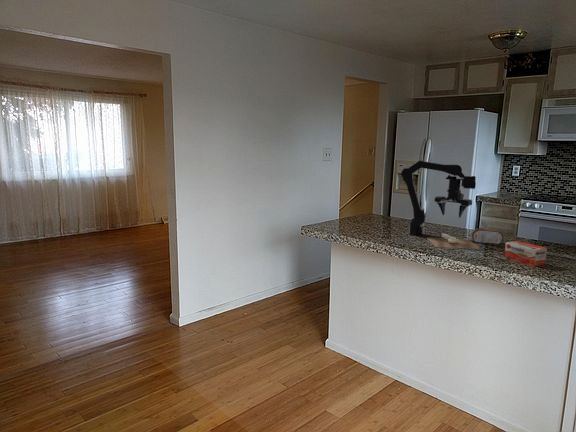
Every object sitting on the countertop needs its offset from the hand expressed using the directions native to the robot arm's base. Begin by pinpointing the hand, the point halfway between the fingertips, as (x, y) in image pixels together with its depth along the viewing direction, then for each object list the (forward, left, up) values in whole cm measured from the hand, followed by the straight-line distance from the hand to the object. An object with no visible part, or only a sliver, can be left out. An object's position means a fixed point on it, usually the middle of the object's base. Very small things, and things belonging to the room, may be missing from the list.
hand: (451, 216), depth 226 cm
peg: (-3, -9, -11) cm, 15 cm away
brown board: (-2, -13, -13) cm, 19 cm away
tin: (+17, -8, -13) cm, 23 cm away
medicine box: (+23, -38, -13) cm, 46 cm away
